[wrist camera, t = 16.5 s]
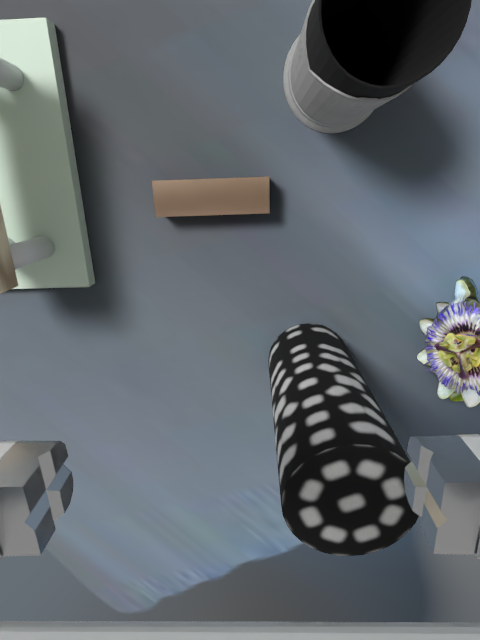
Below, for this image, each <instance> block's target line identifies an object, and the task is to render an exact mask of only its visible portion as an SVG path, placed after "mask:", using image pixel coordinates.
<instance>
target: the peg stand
mask: <svg viewBox="0 0 480 640" xmlns="http://www.w3.org/2000/svg"><path fill="white" fill-rule="evenodd" d="M0 205H1V209H2V214H3V218H4V223H5V227H6V232H7V236H8V241H9V245H10V250H11V254H12V259H13V263H14V268H15V272H16V277H17V281H18V286H17V287H15V288H12V289H30V288H67V287H90V286H92V285H93V284H95V278H94V272H93V265H92V259H91V253H90V246H89V240H88V234H87V227H86V221H85V214H84V208H83V202H82V195H81V189H80V183H79V176H78V170H77V164H76V157H75V151H74V144H73V138H72V132H71V125H70V119H69V113H68V106H67V100H66V94H65V87H64V81H63V74H62V68H61V62H60V55H59V49H58V43H57V36H56V30H55V24H53V23H52V22H51V21H49V20H48V19H47V18H30V19H11V20H0Z"/></svg>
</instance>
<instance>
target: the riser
mask: <svg viewBox="0 0 480 640" xmlns="http://www.w3.org/2000/svg"><path fill="white" fill-rule="evenodd" d="M152 187H153V197H154V207H155V217H173V216H203V215H233V214H263V213H270V200H269V177H246V178H219V179H191V180H164V181H152Z"/></svg>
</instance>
